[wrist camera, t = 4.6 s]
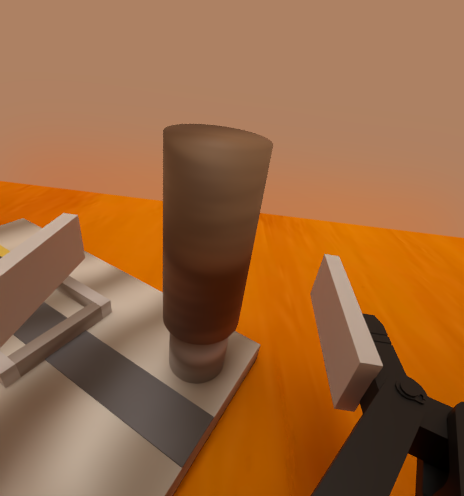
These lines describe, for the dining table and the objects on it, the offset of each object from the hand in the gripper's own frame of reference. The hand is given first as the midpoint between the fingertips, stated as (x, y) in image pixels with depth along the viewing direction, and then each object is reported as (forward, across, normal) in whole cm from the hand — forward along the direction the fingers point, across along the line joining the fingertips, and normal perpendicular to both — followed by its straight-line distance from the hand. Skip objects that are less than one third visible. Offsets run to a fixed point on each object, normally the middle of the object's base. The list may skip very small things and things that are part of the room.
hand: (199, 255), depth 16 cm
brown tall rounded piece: (-1, 0, -8) cm, 8 cm away
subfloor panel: (0, -11, -9) cm, 14 cm away
